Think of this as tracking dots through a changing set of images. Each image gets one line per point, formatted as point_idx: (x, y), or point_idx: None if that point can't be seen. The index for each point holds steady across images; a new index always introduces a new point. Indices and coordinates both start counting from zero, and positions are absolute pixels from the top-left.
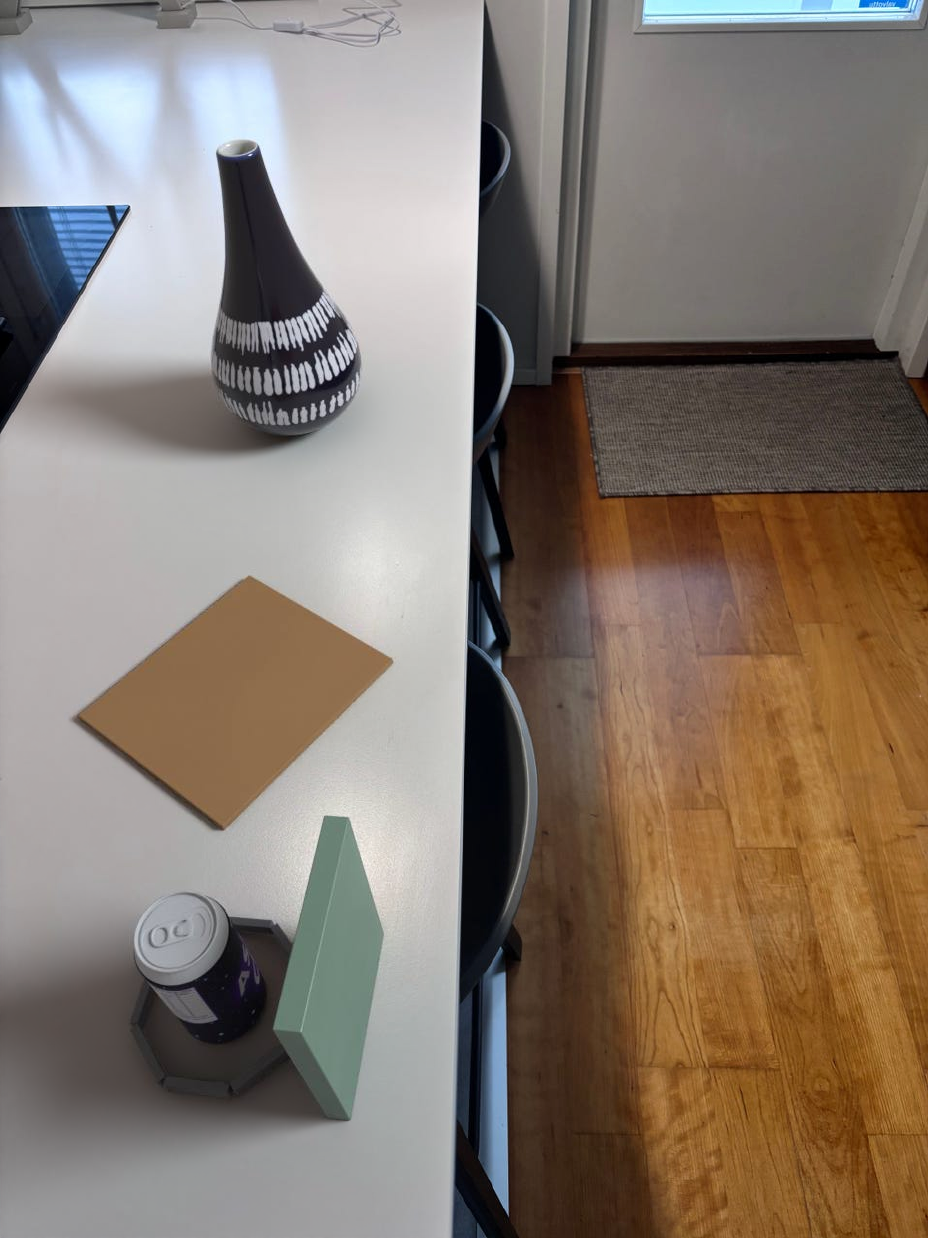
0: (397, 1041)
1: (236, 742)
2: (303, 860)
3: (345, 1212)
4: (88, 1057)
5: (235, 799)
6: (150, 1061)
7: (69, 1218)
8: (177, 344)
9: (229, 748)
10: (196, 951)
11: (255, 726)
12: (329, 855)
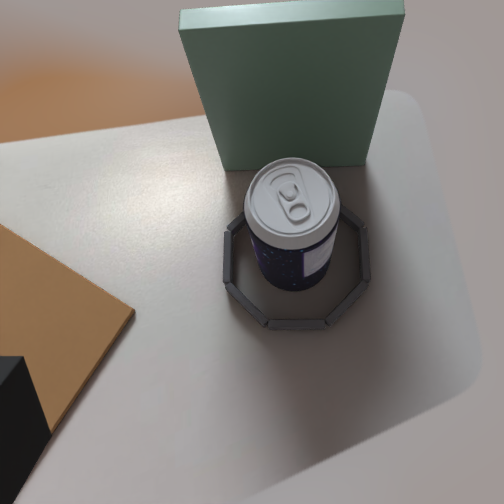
0: None
1: (40, 322)
2: (164, 232)
3: (420, 141)
4: (352, 365)
5: (104, 304)
6: (354, 296)
7: (471, 333)
8: None
9: (46, 327)
10: (309, 172)
11: (22, 308)
12: (223, 15)
